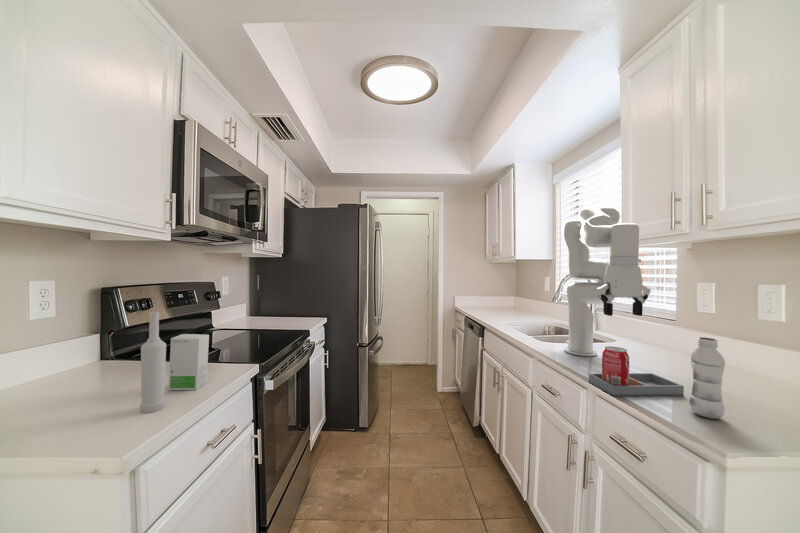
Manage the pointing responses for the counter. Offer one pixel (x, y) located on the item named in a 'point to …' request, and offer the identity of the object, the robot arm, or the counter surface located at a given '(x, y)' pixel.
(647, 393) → the grey divided tray
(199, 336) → the skincare box
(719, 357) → the plastic bottle
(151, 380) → the bottle
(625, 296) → the robot arm
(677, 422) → the counter surface
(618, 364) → the soda can
